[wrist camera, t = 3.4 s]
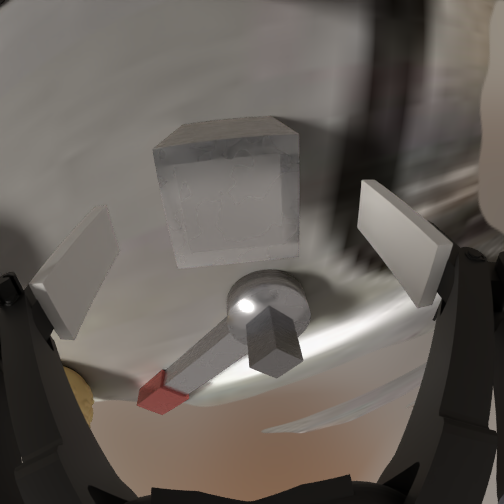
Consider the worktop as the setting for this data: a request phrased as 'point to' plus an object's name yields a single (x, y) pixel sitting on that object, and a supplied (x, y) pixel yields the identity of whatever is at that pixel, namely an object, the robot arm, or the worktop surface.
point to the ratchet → (239, 339)
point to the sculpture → (81, 393)
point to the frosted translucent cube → (231, 191)
